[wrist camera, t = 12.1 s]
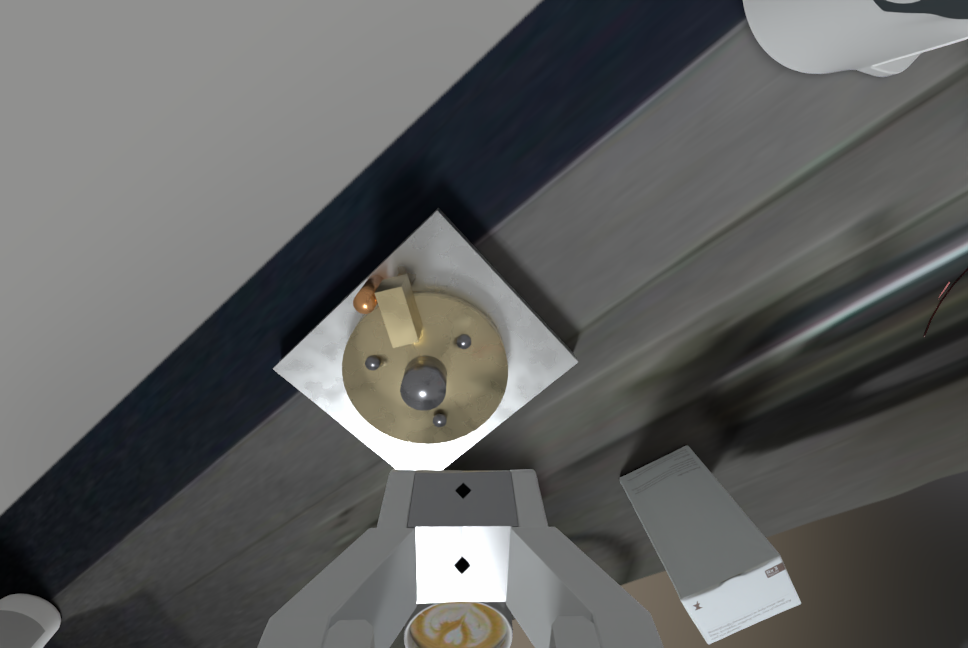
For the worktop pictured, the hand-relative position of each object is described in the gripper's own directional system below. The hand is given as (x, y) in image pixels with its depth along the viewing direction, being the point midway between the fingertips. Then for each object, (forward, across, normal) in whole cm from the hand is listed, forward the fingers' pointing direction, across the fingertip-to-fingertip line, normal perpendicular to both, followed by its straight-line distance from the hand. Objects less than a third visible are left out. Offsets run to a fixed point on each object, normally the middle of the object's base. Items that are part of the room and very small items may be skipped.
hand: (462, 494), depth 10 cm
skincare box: (+31, -22, +25) cm, 46 cm away
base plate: (+31, +3, +11) cm, 33 cm away
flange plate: (+29, +3, +10) cm, 31 cm away
